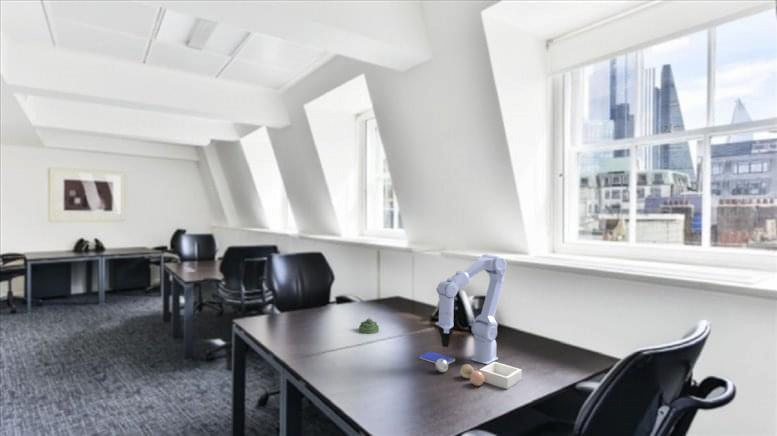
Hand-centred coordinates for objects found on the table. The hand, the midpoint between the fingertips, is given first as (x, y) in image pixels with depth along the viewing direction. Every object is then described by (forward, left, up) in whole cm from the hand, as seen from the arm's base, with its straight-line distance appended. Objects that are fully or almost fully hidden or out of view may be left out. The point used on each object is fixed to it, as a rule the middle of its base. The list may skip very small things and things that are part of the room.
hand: (445, 346), depth 164 cm
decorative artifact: (-13, -56, -9) cm, 58 cm away
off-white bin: (-5, +22, -9) cm, 24 cm away
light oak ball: (+2, +12, -9) cm, 15 cm away
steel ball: (+4, +2, -9) cm, 10 cm away
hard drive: (-6, -8, -9) cm, 13 cm away
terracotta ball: (+5, +18, -9) cm, 20 cm away
